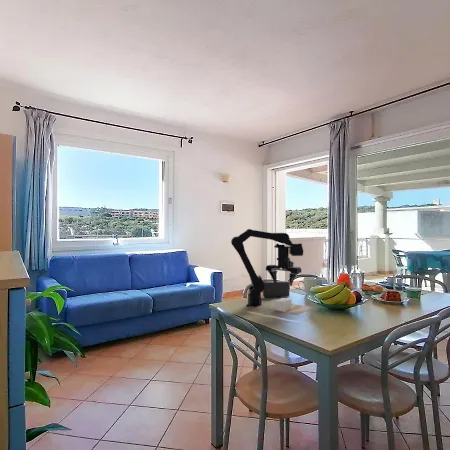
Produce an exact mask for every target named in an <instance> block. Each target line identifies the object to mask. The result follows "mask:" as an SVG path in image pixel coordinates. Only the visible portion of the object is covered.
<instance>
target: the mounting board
mask: <svg viewBox="0 0 450 450" xmlns="http://www.w3.org/2000/svg"><path fill="white" fill-rule="evenodd" d="M313 308H314V307H313V306H307V305H302V304H296V303H291V309H288V310H286V311H279V310H275V307H274V308H271V309H270V311H273V312H278V313H283V314H289V315H295V316H300V315H301V314H304V313H305V312H307V311H309V310H311V309H313Z"/></svg>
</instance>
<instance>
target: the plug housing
mask: <svg viewBox="0 0 450 450" xmlns="http://www.w3.org/2000/svg"><path fill="white" fill-rule="evenodd" d="M291 304H292V298H287V297H286V298H284V297H280V298H278V299H276V300H274V308H275V310H279V311H286V310H288V309H291Z"/></svg>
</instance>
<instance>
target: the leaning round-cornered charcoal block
mask: <svg viewBox="0 0 450 450" xmlns="http://www.w3.org/2000/svg"><path fill="white" fill-rule="evenodd" d="M263 282H264V283H265V284H264V290H263V291H262V297H263V298H264V299H270V298H271V299H272V298H273V297H277V298H283V297H289V296H290V281H287V280H286V281H285V280H277V283H276V284H275V283H274V281H273V280H269V281H268V280H267V281H263ZM273 299H274V298H273Z"/></svg>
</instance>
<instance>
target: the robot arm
mask: <svg viewBox="0 0 450 450" xmlns="http://www.w3.org/2000/svg"><path fill="white" fill-rule="evenodd" d="M251 237H253V238H259V239H264V240H265V239H266V240H271V241H274V242H276V244H274V247H273V248H275V249H277V257H276V261H277V265H276V264H268V265H266V267H265V271H267V273H268V274H270V276H271V278H272V281H274V283H275V284H276V283H277V281H278V279H277V273H278V271H282V272H283V271H284V272H290V273H289V287H292V286H293V284H294V280H295V278H296V277H297V275H299V274H301V273H302V268H301V267H300V266H294V264H295V262H293V261H291V258H290V255H291V257H303V256H304V249H303V243H300V242H299V243H293V242H292V241H291V239H290V235H289V234H288V233H286V232H268V231H261V230H256V229H251V228H248V229H246V230H245V231H243V232H242V233H241V234H239V235H238V236H233V237H232V238H231V241H230V243H231V245H232V247H233V248H234V250H235V251H236V253H237V254H238V255H239V258H240V260H241V261H242V263H243V266H244V268H245V270H246V272H247V274H248V276H249V278H250V283H251V286H249V287H248V292H249V293H248V294H247V297H248V298H247V304H246V306H247V307H252V308H256V307H257V306H259V307H260V306H262V304H263V303H262V293H263V290H264V284H265V283H264V282H265V281H263V278H262V276H261V275H260V274H259V275H257V273H256V271H255V269H254V267H253V265H252V263H251V261H250V258H249V256H248V255H247V253H246V250H245V247H244V246H245V245H244V242H247V240H248V239H249V238H251ZM279 243H280V244H279Z"/></svg>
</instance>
